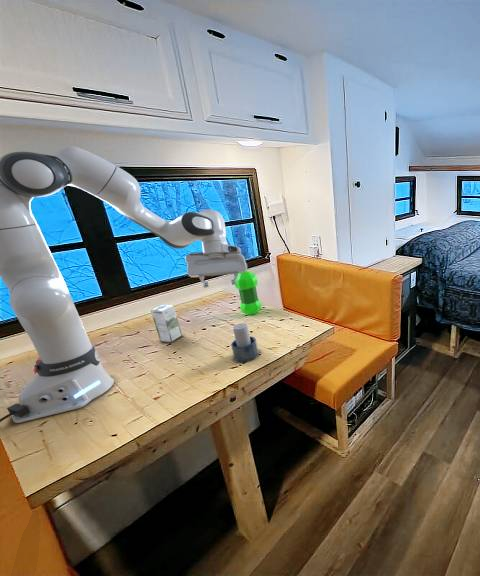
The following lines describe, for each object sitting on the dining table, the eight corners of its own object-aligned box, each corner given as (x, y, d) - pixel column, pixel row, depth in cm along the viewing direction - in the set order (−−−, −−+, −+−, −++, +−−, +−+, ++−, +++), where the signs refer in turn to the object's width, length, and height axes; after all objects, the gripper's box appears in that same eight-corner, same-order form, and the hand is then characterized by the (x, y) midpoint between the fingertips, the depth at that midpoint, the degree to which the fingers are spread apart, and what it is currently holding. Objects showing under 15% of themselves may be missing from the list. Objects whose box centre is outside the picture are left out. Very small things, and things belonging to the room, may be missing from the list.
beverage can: (248, 358, 112) (241, 330, 108) (236, 357, 113) (229, 329, 109) (255, 351, 116) (250, 323, 112) (244, 350, 117) (238, 322, 113)
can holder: (236, 364, 109) (233, 350, 107) (232, 354, 116) (229, 340, 114) (260, 357, 114) (258, 343, 112) (255, 347, 120) (252, 334, 118)
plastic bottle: (266, 308, 156) (258, 261, 147) (255, 317, 146) (245, 267, 137) (249, 307, 157) (239, 261, 149) (236, 316, 148) (225, 267, 139)
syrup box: (171, 334, 132) (162, 304, 127) (183, 335, 131) (173, 305, 126) (160, 341, 127) (149, 309, 122) (171, 342, 126) (161, 310, 121)
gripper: (183, 250, 111) (187, 287, 109) (244, 247, 120) (249, 281, 118) (185, 255, 117) (189, 290, 115) (244, 252, 126) (248, 284, 124)
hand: (220, 285), depth 117 cm, fingers open, 8 cm apart
